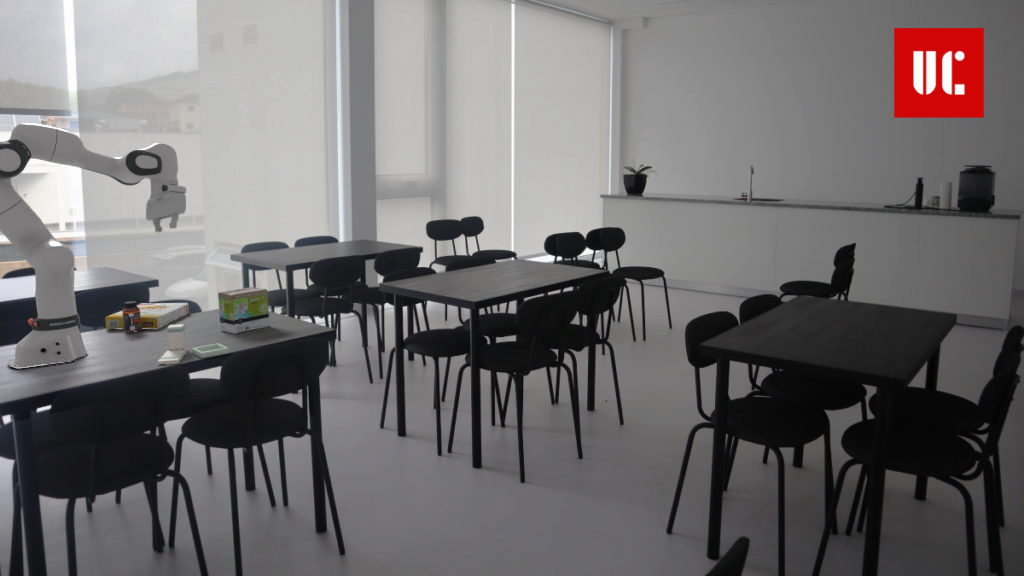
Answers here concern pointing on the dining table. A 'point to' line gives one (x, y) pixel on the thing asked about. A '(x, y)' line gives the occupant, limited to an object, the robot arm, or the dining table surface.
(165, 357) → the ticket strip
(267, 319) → the tea box
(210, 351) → the tray
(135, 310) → the supplement bottle
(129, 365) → the dining table surface
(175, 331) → the white teal striped box
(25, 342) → the robot arm
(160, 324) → the cereal box
